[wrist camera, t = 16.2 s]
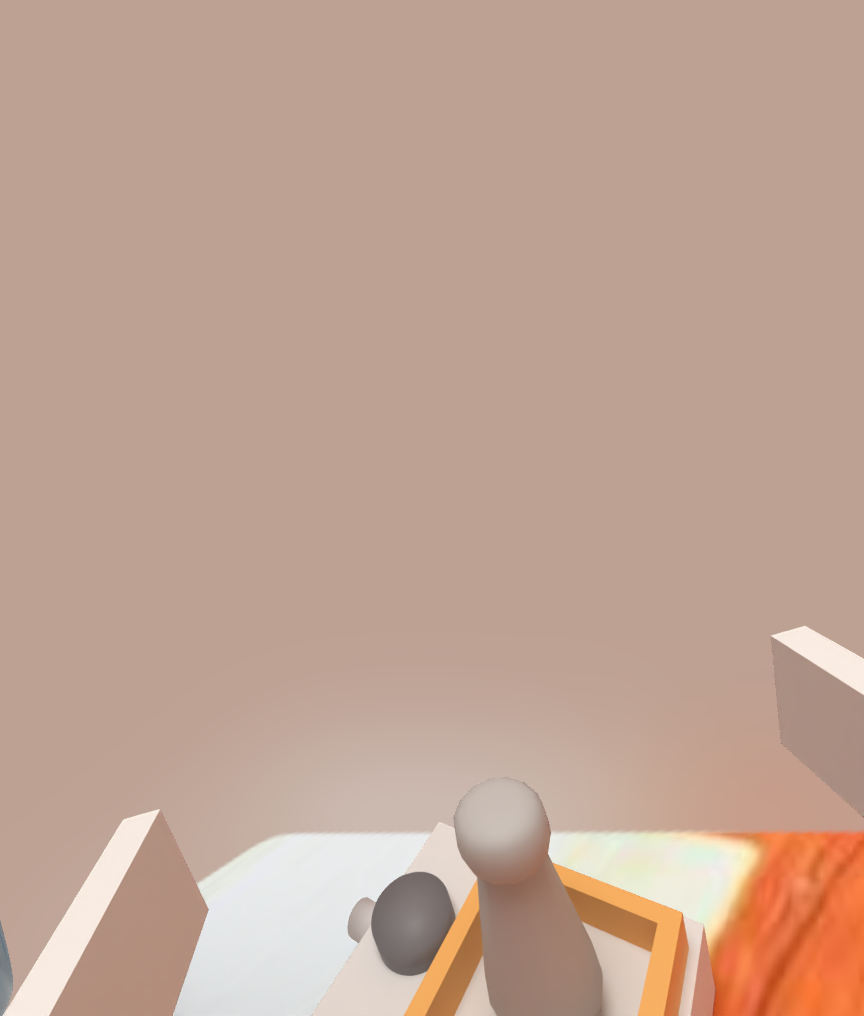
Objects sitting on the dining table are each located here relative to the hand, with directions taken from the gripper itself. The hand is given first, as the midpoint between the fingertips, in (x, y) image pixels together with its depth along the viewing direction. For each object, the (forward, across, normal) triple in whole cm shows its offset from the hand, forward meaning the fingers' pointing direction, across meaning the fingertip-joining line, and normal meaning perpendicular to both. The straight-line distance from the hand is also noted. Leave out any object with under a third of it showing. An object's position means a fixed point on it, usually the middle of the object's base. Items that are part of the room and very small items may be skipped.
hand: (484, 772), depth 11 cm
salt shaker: (+10, 0, -24) cm, 26 cm away
